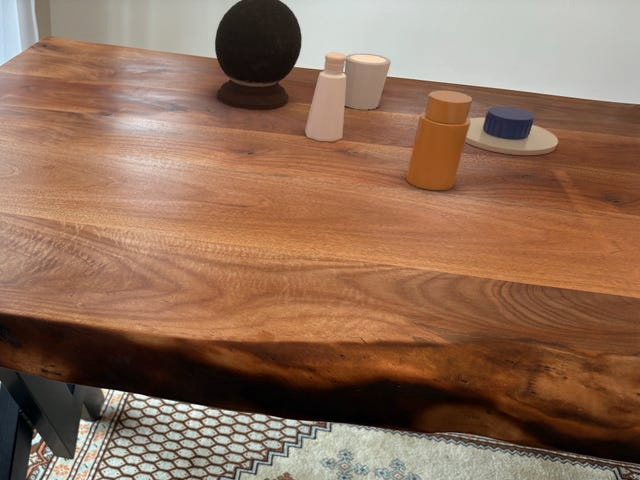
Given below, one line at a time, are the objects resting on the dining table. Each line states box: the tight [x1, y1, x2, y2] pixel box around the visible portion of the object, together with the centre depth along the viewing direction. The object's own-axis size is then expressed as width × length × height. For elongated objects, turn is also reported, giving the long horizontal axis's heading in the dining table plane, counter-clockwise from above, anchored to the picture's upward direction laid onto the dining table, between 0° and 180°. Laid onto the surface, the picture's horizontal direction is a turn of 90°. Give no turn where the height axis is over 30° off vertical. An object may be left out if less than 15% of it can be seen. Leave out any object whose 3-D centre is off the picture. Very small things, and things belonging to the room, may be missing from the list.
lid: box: [483, 105, 535, 140], centre depth 110 cm, size 6×6×3 cm
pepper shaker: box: [304, 52, 347, 143], centre depth 106 cm, size 5×5×11 cm
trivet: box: [465, 117, 559, 156], centre depth 111 cm, size 14×14×1 cm
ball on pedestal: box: [214, 0, 303, 111], centre depth 118 cm, size 13×13×15 cm
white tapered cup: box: [344, 53, 392, 111], centre depth 120 cm, size 7×7×7 cm
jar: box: [405, 90, 473, 191], centre depth 93 cm, size 6×6×10 cm
